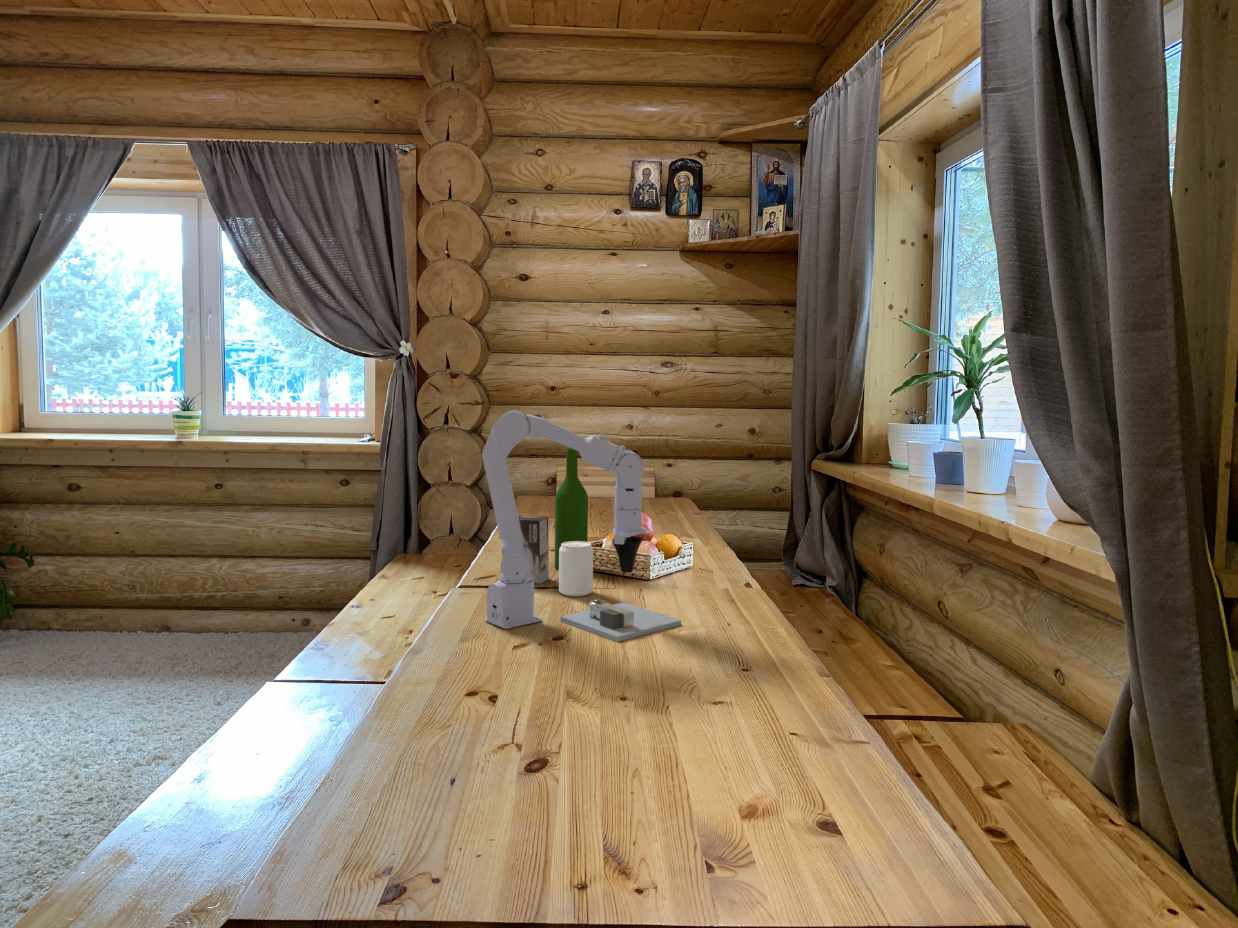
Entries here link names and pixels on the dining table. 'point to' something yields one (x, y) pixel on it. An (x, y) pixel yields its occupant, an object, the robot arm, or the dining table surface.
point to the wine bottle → (570, 507)
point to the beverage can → (576, 568)
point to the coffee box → (537, 545)
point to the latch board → (620, 634)
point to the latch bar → (599, 605)
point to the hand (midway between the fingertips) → (627, 571)
